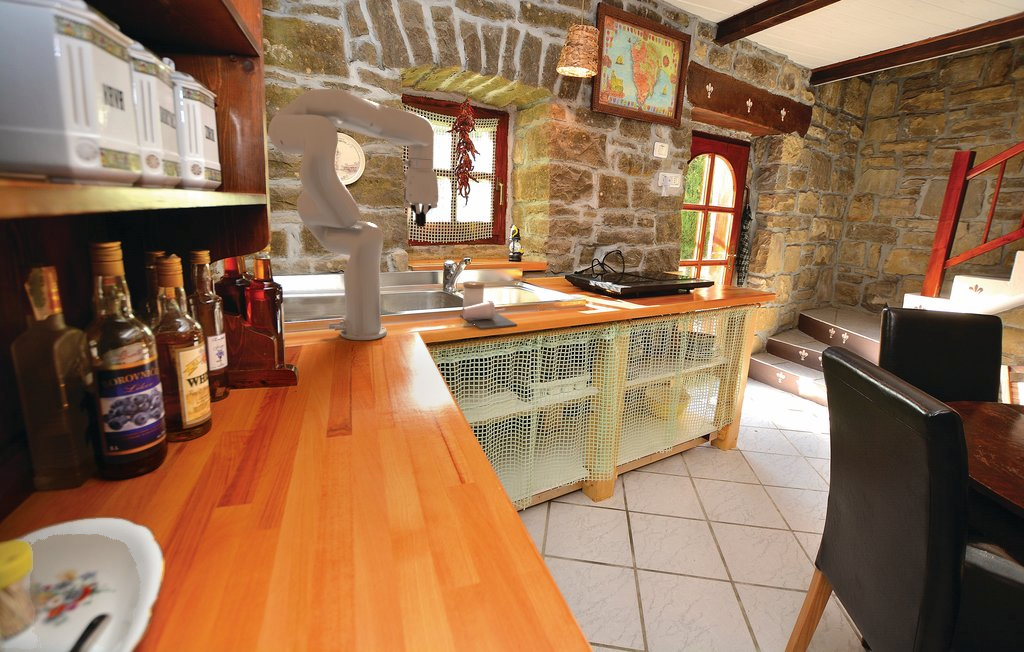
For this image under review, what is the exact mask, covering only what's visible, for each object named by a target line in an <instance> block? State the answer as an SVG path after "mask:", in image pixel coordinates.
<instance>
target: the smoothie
mask: <svg viewBox="0 0 1024 652" xmlns="http://www.w3.org/2000/svg"><path fill="white" fill-rule="evenodd" d="M501 311H502V312H503V311H506V308H500V309H496V307H495V304H494V302H493V300H487V301H485V302H483V303H481V304H477V305H473V306H469V307H465V308H463V307H462V310H461V314H462V315H463V318H464V319H463V318H462V319H463V320H465V319H489V320H493V319H494V318H495V313H497V312H501Z"/></svg>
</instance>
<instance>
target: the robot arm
mask: <svg viewBox="0 0 1024 652" xmlns="http://www.w3.org/2000/svg"><path fill="white" fill-rule="evenodd" d="M337 128H340V129H343V130H345V131H350V132H353V133H356V134H359V135H361V136H362V135H363V136H364V137H365V136H366V137H370V138H373V139H375V138H376V139H383V140H384V139H386V140H387V141H388V142H389V143H390V144H391V145H394V146H398V147H407V149H408V150H407V151H408V152H407V153H408V154H407V155H408V156H407V157H408V158H407V159H406V160H404V161H403V165H404V166H407V169H406V171H405V175H404V184H403V207H405V208H409V209H411V210H412V212H413V213H414V218H415V219H414V223H415V225H416V227H418V228H421V227H422V228H424V227H425V226H426V225H427V215H428V212H429V211H430V210H431V209H432V210H433V209H436V208H437V207H438V203H439V184H438V177H437V171H434V145H435V144H434V141H435V139H434V136H435V130H434V126H433V124H432V123H431V121H429V119H428V118H426V117H424V116H423V115H422V116H421V115H419V114H417V113H415V112H412V111H408V110H404V109H400V108H395V107H392V106H389V105H384V104H380V103H376V102H374V101H371V100H369V99H366V98H364V97H362V96H359V95H356V94H354V93H352V92H350V91H347V90H343V89H342V88H341V89H339V88H320V89H319V88H317V89H309V90H307V91H305V92H303V93H302V94H300V95H299V96H298V97H296V98H294V99H293V100H292V101H291V102H290V103H289V104H288V105H287V106H285V107H284V108H282V109H281V110H280V111H279V112H278V113H277V114H275V116H273V118H272V119H271V120H270V122H269V125H268V129H267V130H268V131H267V133H268V137H269V141H270V142H271V144H272V145H273V146H274V148H276V149H277V150H279V152H282V153H285V154H289V155H290V154H291V155H292V154H293V155H302V158H301V164H300V169H299V181H300V182H301V185H302V188H303V189H304V190H303V191H302V192H301V193H300V194H299V195H298V198H297V199H296V200H297V201H296V209H297V210H296V211H297V213H298V215H299V218H300V220H301V222H302V223H303V225H304V226H305V227H306V228H307V229H308V230H309V231H310V233H311V234H312V235H313V236H314V238H315V239H316V240H317V242H318V243H319V244H320V245H321V246H322V247H323V248H324V249H325V250H326V251H328V252H329V253H332V254H338V255H345V256H349V258H348V260H347V263H346V265H345V267H344V270H343V282H344V283H343V284H344V285H343V286H344V305H345V306H344V309H345V317H342V320H339V321H338V322H337V321H336V322H334V321H332V322H327V329H328V330H334V331H340V336H341V337H342V338H344V339H347V340H353V341H370V340H377V339H381V338H383V337H385V336H386V335H387V331H388V330H387V328H386V327H385V326H382V318H381V317H382V315H381V314H382V311H381V310H382V308H381V260H382V258H381V257H382V252H383V247H384V235H383V232H382V230H381V229H380V227H378V226H377V225H376V224H374V223H371V222H369V221H363V220H359V219H360V209H359V206H358V204H357V202H356V200H355V199H354V197H353V196H352V194H351V193H350V191H349V189H347V187H346V185H345V184H344V182H343V181H342V179H341V177H340V176H339V174H338V171H337V170H336V154H337V153H336V152H337V149H338V143H339V142H338V141H339V136H338V135H339V134H338V131H337ZM420 204H421V206H420Z"/></svg>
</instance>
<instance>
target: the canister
mask: <svg viewBox="0 0 1024 652" xmlns="http://www.w3.org/2000/svg"><path fill="white" fill-rule="evenodd" d="M462 287H463V292H462V293H463V294H462V299H463V300H462V309H463V308H465V307H469V306H473V305H477V304H481V303H484V290H485V282H482V281H481V282H480V281H476V280H475V281H472V280H470V281H469V280H468V281H463V283H462Z"/></svg>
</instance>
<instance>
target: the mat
mask: <svg viewBox="0 0 1024 652" xmlns="http://www.w3.org/2000/svg"><path fill="white" fill-rule="evenodd" d="M459 317H460V318H462V319H463V320H465V321H467V322H468V323H470V324H471V323H472V324H471V325H473V324H475V325H476V326H477V327H478V328H477V327H476V326H475V327H476V328H477V329H479V330H487V329H490V330H491V329H498V328H499V329H500V328H508V327H518V323H516V322H515V321H512V320H511V319H508V318H507V317H505V316H503V315H501V314H499V313H498V312H496V313H495V318H494V319H493V320H489V319H464V318H463V315H462V313H461V314H460V315H459Z"/></svg>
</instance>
